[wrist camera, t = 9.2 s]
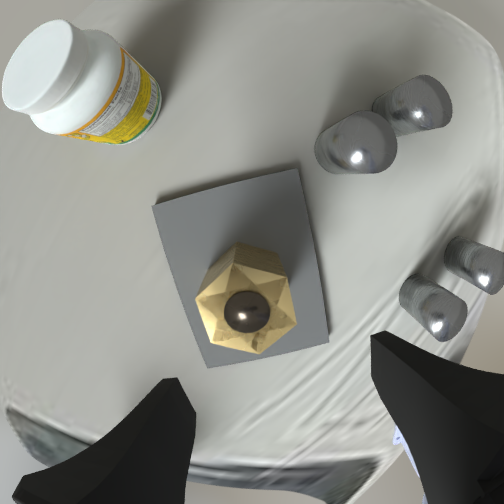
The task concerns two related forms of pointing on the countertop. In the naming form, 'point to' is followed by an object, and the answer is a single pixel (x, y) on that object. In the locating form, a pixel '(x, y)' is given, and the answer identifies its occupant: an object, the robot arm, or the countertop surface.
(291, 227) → the mat
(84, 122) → the supplement bottle
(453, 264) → the cylinder
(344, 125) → the cylinder
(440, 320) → the cylinder
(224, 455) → the countertop surface
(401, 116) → the cylinder
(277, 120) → the countertop surface
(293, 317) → the nut
